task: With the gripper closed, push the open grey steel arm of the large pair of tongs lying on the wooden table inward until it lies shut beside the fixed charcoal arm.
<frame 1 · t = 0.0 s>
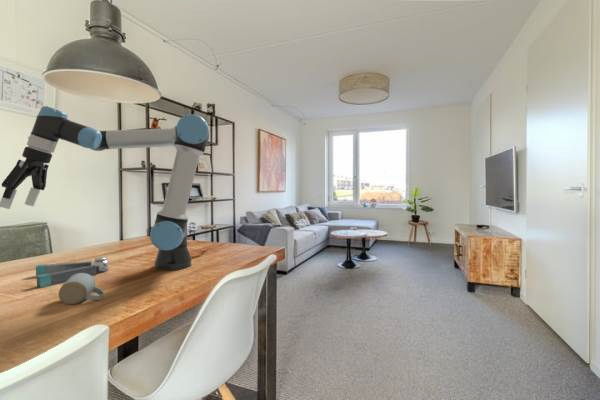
hand: (17, 206, 102), 28 cm above the table, tool tilted 20°, fingers open, 13 cm apart
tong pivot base: (100, 271, 120), on the table
tong swing arm: (72, 266, 117), point 3 cm above the table, hinge at 35.0°
ceramic mug: (82, 300, 90), on the table
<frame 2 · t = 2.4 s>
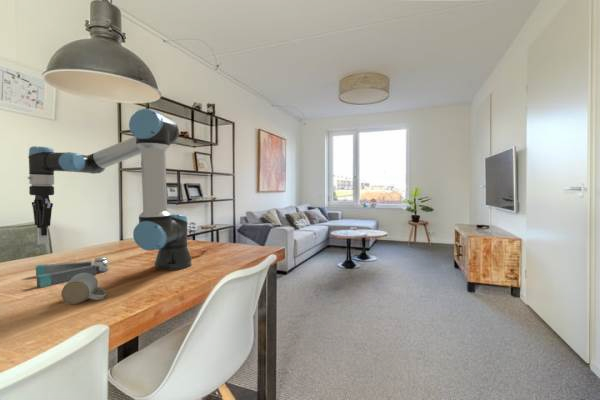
hand: (42, 243, 119), 12 cm above the table, tool pointing down, fingers closed
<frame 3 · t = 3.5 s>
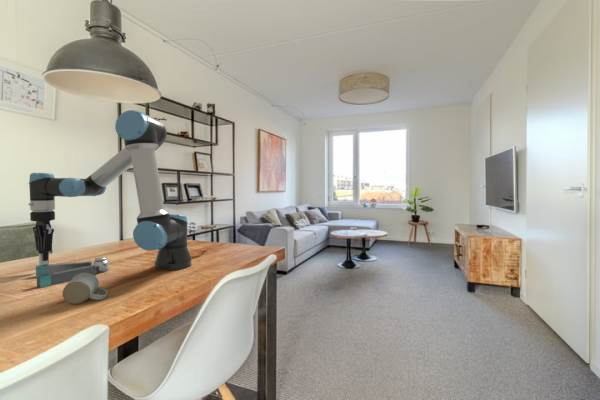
hand: (44, 268, 119), 1 cm above the table, tool pointing down, fingers closed
nothing on the table moved.
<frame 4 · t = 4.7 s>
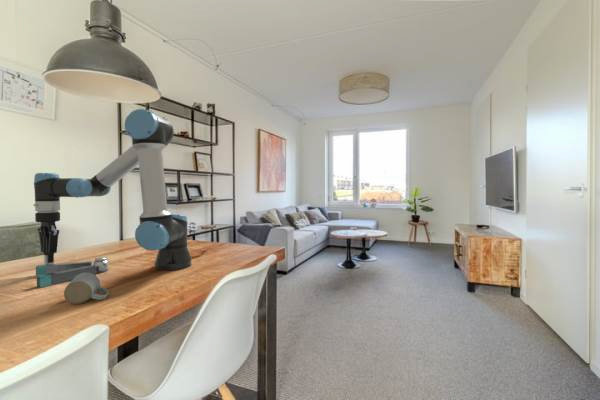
hand: (49, 270, 117), 1 cm above the table, tool pointing down, fingers closed
tong swing arm: (72, 266, 117), point 3 cm above the table, hinge at 34.9°, touching gripper
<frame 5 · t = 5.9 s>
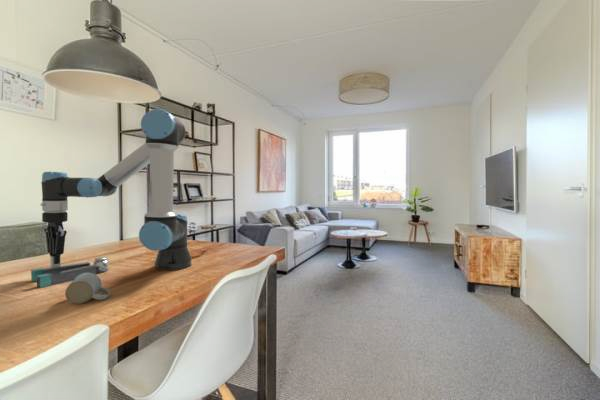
hand: (55, 271, 113), 2 cm above the table, tool pointing down, fingers closed
tong swing arm: (71, 268, 114), point 3 cm above the table, hinge at 15.8°, touching gripper
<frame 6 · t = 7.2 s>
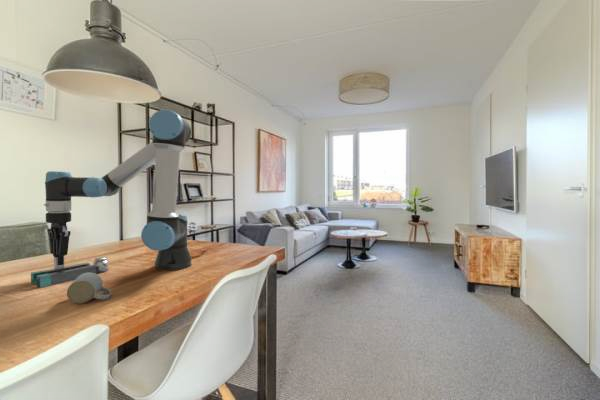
hand: (59, 272, 112), 2 cm above the table, tool pointing down, fingers closed
tong swing arm: (72, 269, 112), point 3 cm above the table, hinge at 3.0°, touching gripper
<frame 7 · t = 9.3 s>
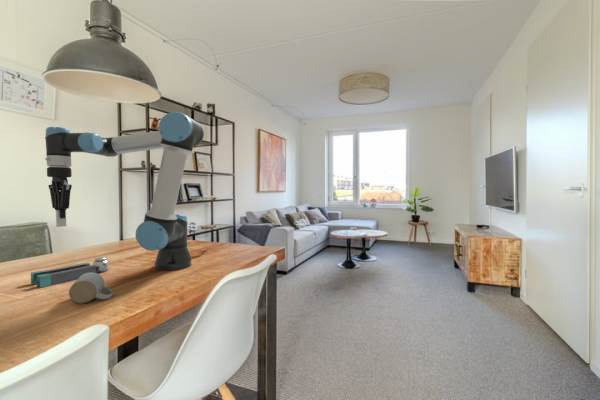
hand: (61, 226, 116), 19 cm above the table, tool pointing down, fingers closed
tong swing arm: (72, 269, 112), point 3 cm above the table, hinge at 2.9°
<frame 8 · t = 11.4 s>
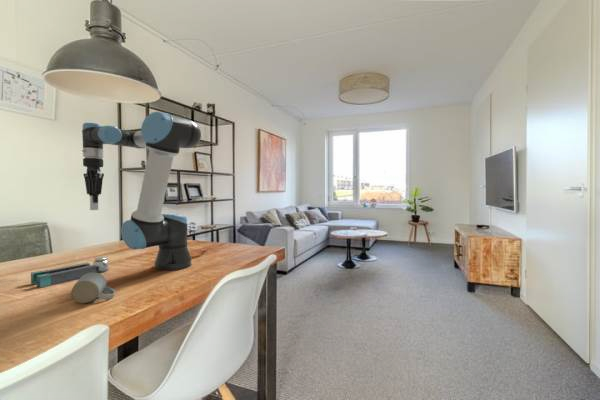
hand: (94, 209, 133), 24 cm above the table, tool pointing down, fingers closed
at the end: tong swing arm at +3° (first picture: +35°) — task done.
